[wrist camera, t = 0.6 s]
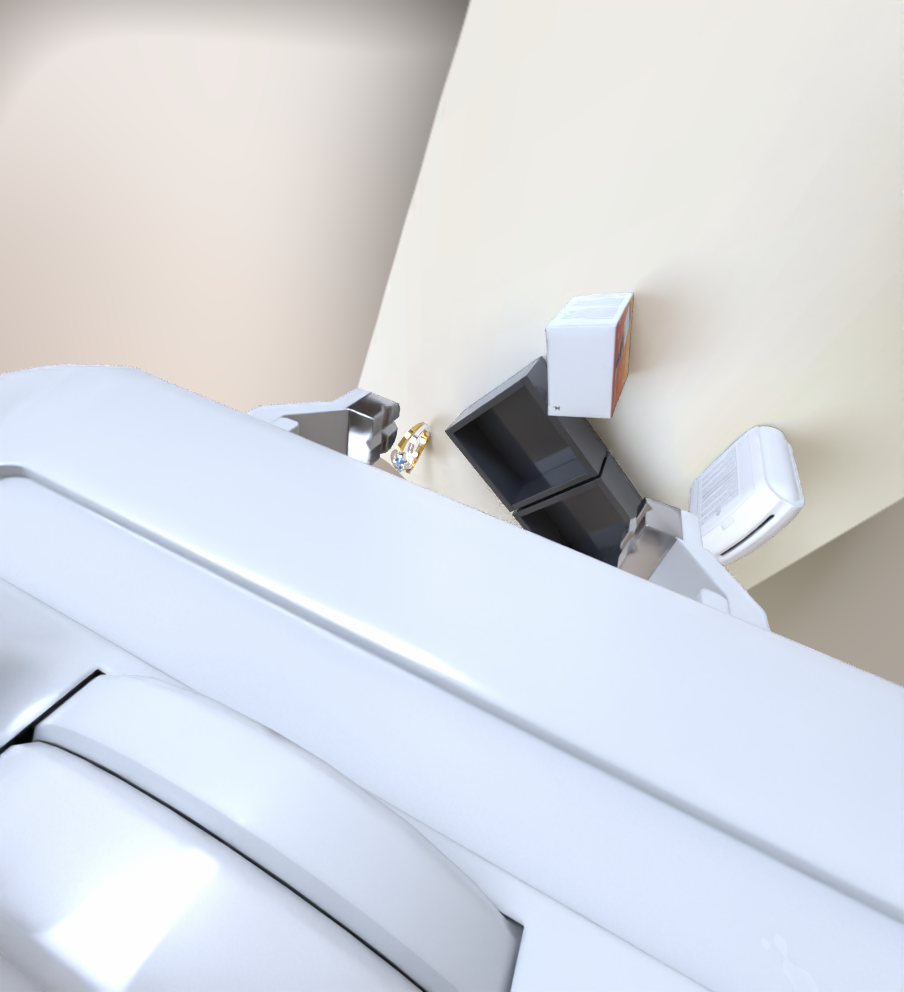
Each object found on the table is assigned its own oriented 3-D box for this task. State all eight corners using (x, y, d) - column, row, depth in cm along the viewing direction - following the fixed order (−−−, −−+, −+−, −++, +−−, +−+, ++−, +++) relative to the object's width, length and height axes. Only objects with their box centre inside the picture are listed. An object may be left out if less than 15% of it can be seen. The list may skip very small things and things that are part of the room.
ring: (430, 457, 62) (402, 488, 57) (411, 446, 62) (382, 476, 57) (444, 420, 57) (416, 451, 52) (424, 408, 58) (393, 437, 52)
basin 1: (541, 355, 47) (526, 375, 43) (607, 448, 50) (598, 475, 46) (463, 410, 55) (444, 431, 51) (523, 487, 58) (509, 512, 54)
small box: (628, 374, 44) (611, 422, 37) (572, 374, 46) (546, 418, 39) (635, 290, 39) (618, 324, 32) (573, 294, 42) (544, 326, 34)
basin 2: (609, 451, 50) (600, 477, 46) (666, 533, 53) (663, 564, 49) (525, 489, 58) (511, 514, 54) (579, 558, 61) (570, 586, 57)
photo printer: (718, 506, 48) (720, 587, 39) (683, 487, 48) (678, 562, 40) (798, 438, 41) (822, 519, 32) (756, 416, 41) (769, 490, 32)
